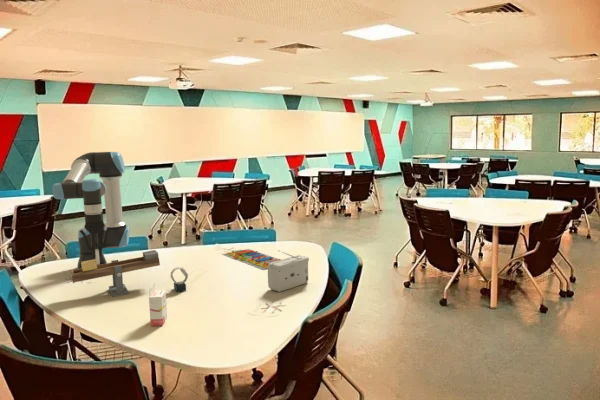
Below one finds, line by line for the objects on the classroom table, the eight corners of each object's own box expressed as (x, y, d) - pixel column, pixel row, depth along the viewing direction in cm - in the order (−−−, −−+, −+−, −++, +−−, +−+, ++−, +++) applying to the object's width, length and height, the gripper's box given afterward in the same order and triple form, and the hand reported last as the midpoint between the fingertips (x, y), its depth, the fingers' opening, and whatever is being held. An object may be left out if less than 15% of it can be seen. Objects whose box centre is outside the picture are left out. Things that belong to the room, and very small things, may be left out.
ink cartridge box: (163, 326, 178) (161, 289, 176) (150, 326, 178) (147, 290, 176) (167, 317, 187) (165, 282, 185) (155, 318, 186) (153, 282, 184)
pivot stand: (108, 288, 223) (106, 260, 221) (124, 286, 226) (122, 258, 224) (112, 297, 211) (110, 267, 209) (128, 294, 215) (126, 265, 213)
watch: (190, 289, 219) (189, 267, 218) (173, 293, 215) (171, 270, 214) (187, 286, 224) (185, 264, 223) (170, 289, 220) (169, 267, 219)
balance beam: (71, 277, 212) (70, 264, 211) (156, 261, 230) (154, 249, 229) (73, 282, 205) (71, 269, 204) (159, 265, 222) (158, 253, 221)
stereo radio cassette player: (299, 279, 232) (298, 240, 229) (310, 283, 226) (310, 243, 224) (267, 289, 218) (266, 248, 215) (279, 293, 212) (277, 251, 209)
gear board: (221, 251, 283) (248, 246, 295) (222, 255, 284) (248, 250, 296) (263, 266, 249) (291, 260, 261) (263, 271, 249) (291, 264, 261)
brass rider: (82, 272, 212) (80, 261, 212) (96, 269, 215) (95, 259, 214) (83, 275, 208) (81, 264, 207) (97, 272, 211) (96, 261, 210)
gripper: (78, 216, 203) (83, 267, 206) (110, 213, 209) (114, 263, 213) (77, 213, 210) (81, 263, 213) (108, 210, 216) (111, 259, 219)
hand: (97, 263), depth 213 cm, fingers closed
